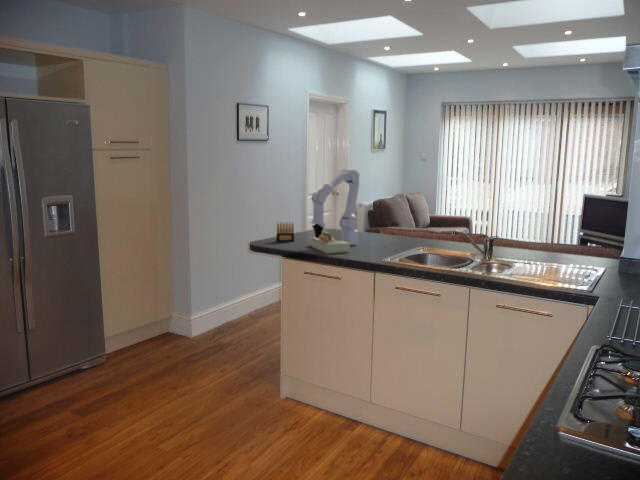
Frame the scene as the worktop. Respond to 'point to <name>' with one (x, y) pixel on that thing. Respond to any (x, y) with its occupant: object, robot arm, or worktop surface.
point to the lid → (330, 237)
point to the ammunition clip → (285, 233)
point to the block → (323, 239)
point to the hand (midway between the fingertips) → (317, 237)
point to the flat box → (331, 246)
